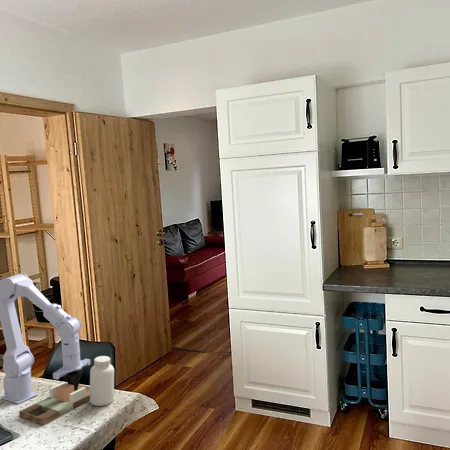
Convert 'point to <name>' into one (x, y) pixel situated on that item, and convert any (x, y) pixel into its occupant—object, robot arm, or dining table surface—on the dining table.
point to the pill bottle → (101, 381)
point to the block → (64, 391)
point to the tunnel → (73, 396)
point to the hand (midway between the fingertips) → (74, 391)
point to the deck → (52, 408)
